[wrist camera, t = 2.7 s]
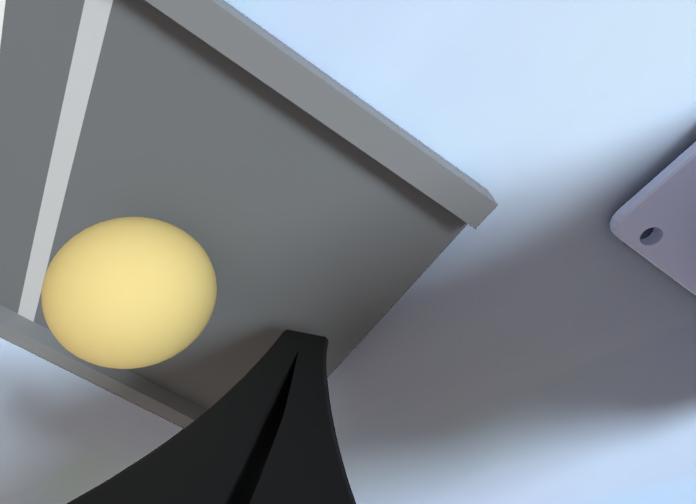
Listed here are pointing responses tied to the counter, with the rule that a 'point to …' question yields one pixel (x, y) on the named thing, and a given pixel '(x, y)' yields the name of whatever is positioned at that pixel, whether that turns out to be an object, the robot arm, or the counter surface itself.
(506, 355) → the counter surface
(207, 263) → the ball
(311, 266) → the lane
